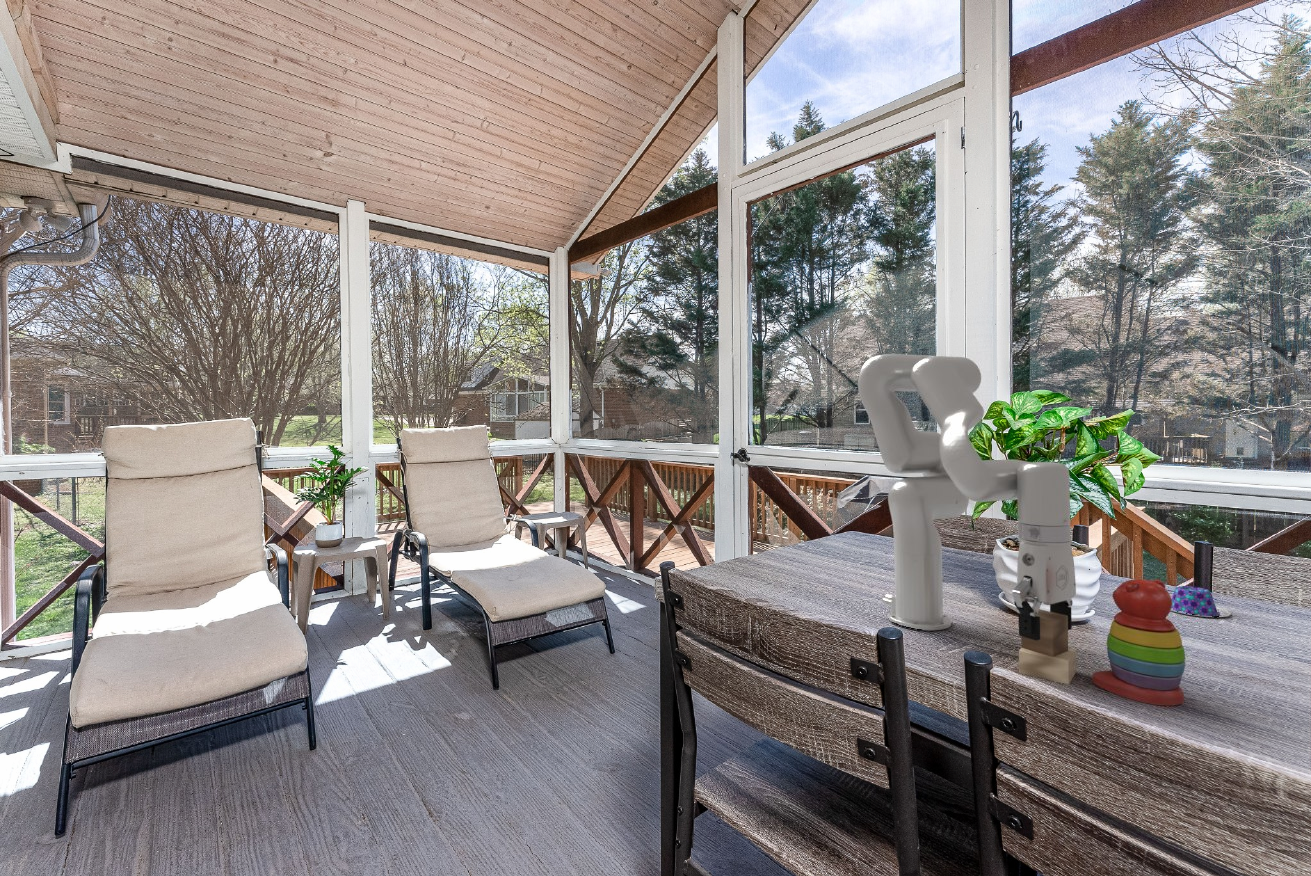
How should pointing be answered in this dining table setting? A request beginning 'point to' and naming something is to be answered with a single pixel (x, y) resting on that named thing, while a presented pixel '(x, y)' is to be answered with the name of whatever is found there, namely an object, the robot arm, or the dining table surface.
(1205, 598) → the blue patterned hat
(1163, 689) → the stacking bear
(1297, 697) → the dining table surface
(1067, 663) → the oak block
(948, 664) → the dining table surface
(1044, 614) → the walnut block
